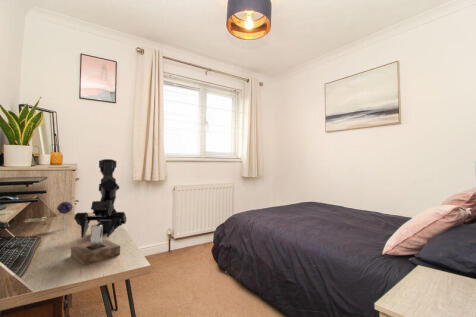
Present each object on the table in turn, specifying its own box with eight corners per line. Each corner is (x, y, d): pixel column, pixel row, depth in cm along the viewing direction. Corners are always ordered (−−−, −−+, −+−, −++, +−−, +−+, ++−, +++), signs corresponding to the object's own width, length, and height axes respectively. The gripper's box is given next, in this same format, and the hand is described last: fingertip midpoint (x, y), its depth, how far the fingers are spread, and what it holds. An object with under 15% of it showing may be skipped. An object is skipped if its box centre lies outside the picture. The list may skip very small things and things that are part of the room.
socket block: (105, 247, 101) (105, 239, 102) (120, 254, 94) (120, 245, 94) (70, 256, 91) (71, 247, 91) (84, 265, 83) (84, 255, 83)
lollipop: (54, 231, 122) (56, 203, 123) (57, 227, 129) (59, 201, 129) (70, 229, 126) (71, 202, 126) (72, 226, 132) (73, 200, 132)
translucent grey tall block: (98, 252, 95) (100, 223, 96) (103, 255, 93) (104, 225, 93) (88, 255, 92) (89, 225, 92) (92, 258, 90) (93, 227, 90)
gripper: (77, 193, 95) (61, 227, 84) (125, 193, 99) (116, 225, 88) (85, 208, 103) (71, 241, 92) (129, 207, 106) (121, 239, 95)
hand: (95, 236), depth 91 cm, fingers open, 9 cm apart
